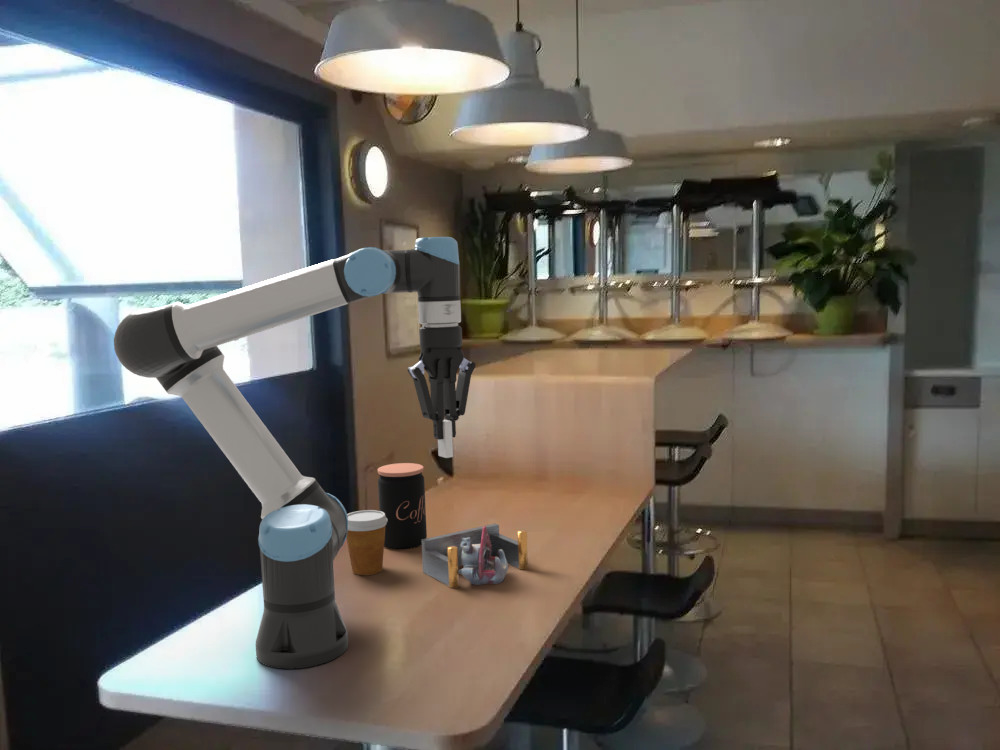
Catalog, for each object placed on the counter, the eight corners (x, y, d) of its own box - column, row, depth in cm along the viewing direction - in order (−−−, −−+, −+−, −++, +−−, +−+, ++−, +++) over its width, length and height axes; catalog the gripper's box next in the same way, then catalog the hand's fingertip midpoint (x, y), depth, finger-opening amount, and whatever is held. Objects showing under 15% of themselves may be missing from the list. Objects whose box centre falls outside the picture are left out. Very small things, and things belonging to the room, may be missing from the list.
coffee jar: (398, 553, 197) (394, 475, 195) (372, 543, 205) (368, 468, 203) (436, 543, 204) (432, 467, 202) (409, 533, 212) (406, 460, 210)
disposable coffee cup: (335, 571, 186) (332, 516, 185) (370, 560, 193) (368, 507, 192) (363, 581, 180) (360, 524, 178) (399, 569, 186) (396, 514, 185)
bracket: (452, 588, 173) (450, 549, 173) (421, 572, 184) (420, 535, 183) (530, 568, 184) (528, 531, 183) (497, 553, 194) (495, 518, 193)
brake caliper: (514, 577, 172) (476, 529, 172) (472, 608, 174) (434, 561, 174) (522, 558, 183) (486, 514, 183) (482, 588, 185) (446, 544, 185)
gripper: (417, 328, 148) (424, 465, 151) (482, 323, 155) (487, 454, 158) (397, 326, 154) (403, 458, 157) (460, 322, 162) (465, 448, 164)
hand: (445, 456), depth 157 cm, fingers closed
